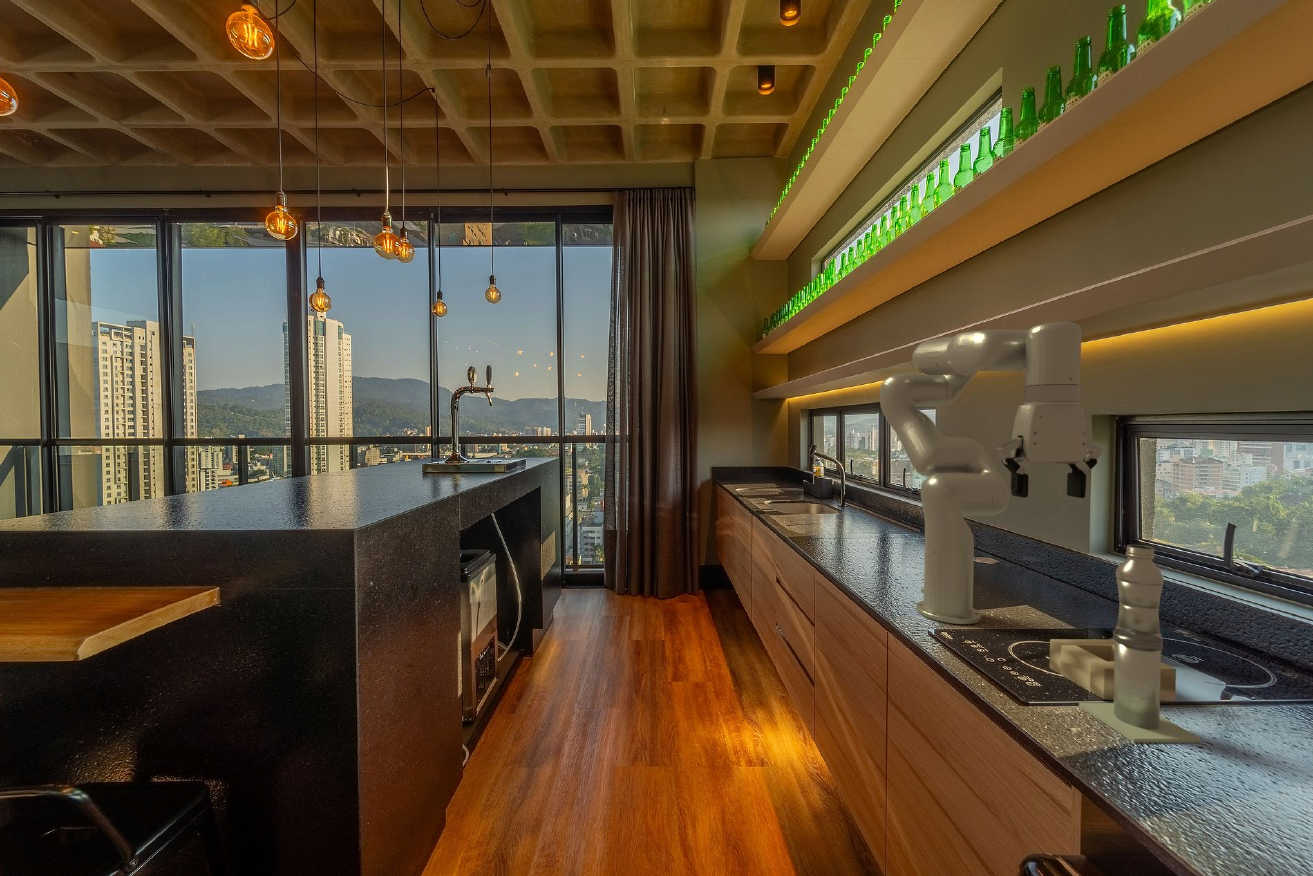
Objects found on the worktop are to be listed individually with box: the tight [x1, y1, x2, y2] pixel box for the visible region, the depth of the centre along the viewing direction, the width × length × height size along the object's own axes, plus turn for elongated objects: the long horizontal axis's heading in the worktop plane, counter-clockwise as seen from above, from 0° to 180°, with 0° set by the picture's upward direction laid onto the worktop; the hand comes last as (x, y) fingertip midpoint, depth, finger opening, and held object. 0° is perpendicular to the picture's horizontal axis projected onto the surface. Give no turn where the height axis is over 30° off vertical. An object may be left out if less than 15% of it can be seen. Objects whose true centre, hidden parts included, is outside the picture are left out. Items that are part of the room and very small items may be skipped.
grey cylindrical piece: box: [1112, 628, 1164, 729], centre depth 74 cm, size 5×5×12 cm
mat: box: [1078, 702, 1202, 744], centre depth 74 cm, size 9×9×1 cm
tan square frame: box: [1048, 638, 1177, 702], centre depth 85 cm, size 11×11×5 cm
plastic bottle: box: [1115, 544, 1164, 653], centre depth 96 cm, size 6×7×20 cm
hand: (1047, 496), depth 90 cm, fingers open, 9 cm apart
